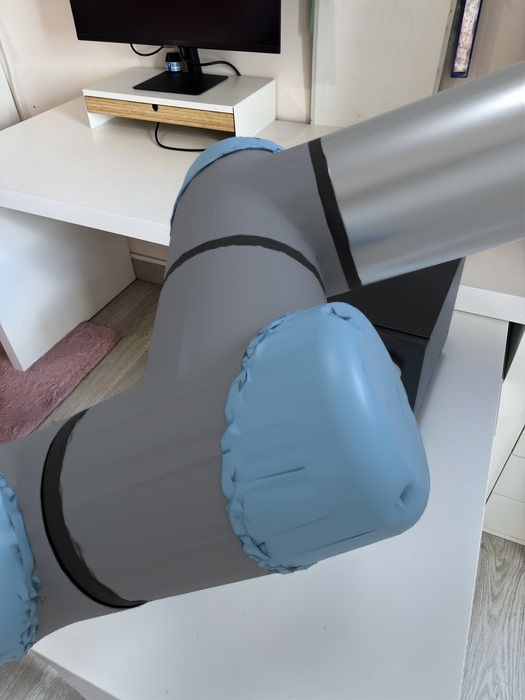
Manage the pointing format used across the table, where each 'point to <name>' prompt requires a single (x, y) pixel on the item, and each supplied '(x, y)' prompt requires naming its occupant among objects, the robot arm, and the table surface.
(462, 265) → the microwave
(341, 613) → the table surface
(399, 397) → the robot arm
